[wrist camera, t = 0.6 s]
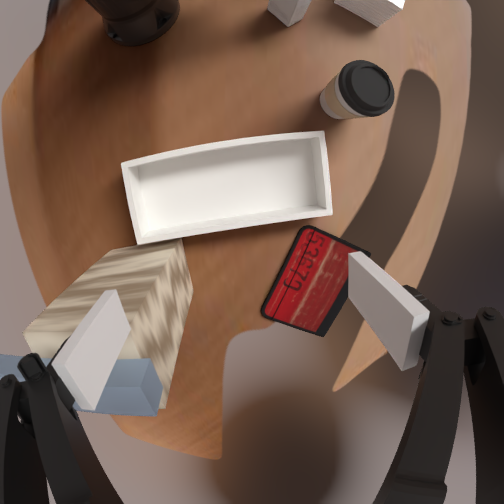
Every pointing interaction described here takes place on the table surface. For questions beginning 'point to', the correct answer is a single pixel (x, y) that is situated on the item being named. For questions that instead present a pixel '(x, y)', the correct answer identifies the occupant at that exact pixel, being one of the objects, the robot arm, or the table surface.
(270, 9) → the skincare box
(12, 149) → the table surface
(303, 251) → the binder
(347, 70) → the coffee cup
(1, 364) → the block
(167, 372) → the beige tall box
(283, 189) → the tray
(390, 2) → the stack of papers
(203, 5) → the table surface
